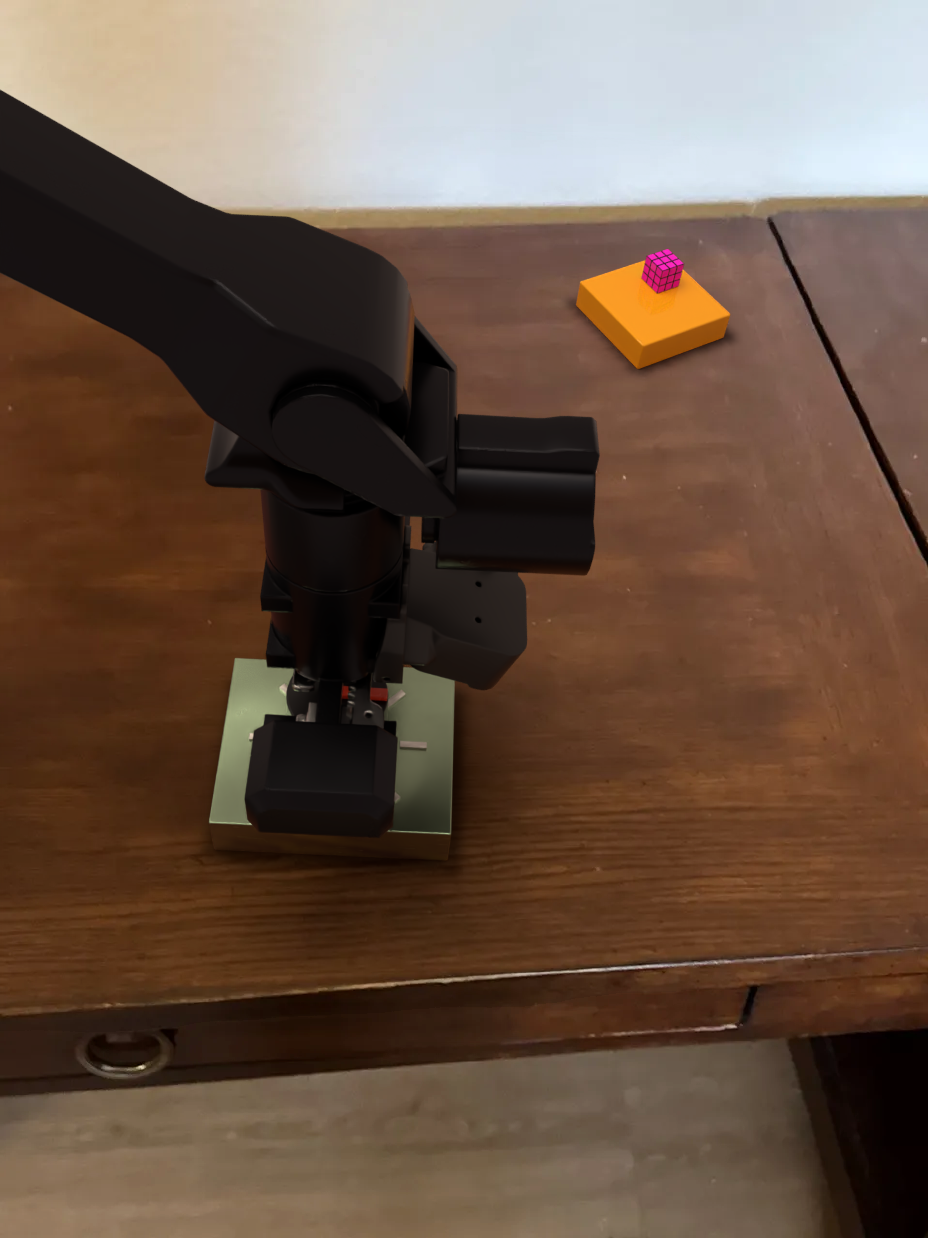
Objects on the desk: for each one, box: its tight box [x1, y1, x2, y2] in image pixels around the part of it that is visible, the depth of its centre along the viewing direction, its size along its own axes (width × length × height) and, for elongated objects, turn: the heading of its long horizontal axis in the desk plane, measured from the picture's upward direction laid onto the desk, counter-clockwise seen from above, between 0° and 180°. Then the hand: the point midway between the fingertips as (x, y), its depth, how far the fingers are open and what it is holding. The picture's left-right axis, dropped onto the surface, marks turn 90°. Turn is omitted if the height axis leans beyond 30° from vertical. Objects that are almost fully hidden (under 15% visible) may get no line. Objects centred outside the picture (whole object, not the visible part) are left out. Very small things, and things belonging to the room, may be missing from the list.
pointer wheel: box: [286, 673, 388, 720], centre depth 61 cm, size 5×5×5 cm
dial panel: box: [208, 657, 456, 862], centre depth 64 cm, size 12×10×3 cm
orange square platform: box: [575, 248, 731, 370], centre depth 89 cm, size 8×8×4 cm
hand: (337, 737), depth 63 cm, fingers closed on pointer wheel, 5 cm apart
